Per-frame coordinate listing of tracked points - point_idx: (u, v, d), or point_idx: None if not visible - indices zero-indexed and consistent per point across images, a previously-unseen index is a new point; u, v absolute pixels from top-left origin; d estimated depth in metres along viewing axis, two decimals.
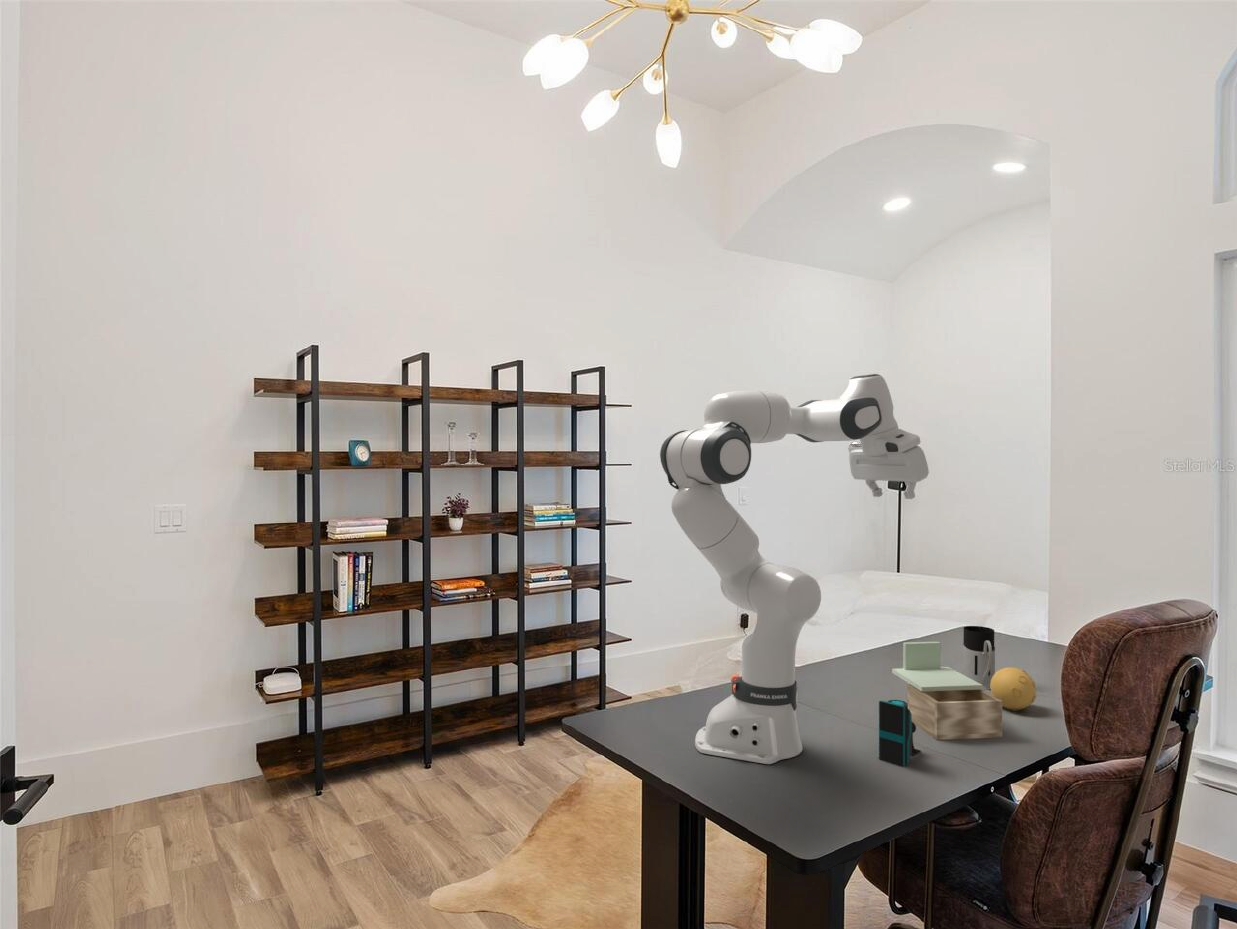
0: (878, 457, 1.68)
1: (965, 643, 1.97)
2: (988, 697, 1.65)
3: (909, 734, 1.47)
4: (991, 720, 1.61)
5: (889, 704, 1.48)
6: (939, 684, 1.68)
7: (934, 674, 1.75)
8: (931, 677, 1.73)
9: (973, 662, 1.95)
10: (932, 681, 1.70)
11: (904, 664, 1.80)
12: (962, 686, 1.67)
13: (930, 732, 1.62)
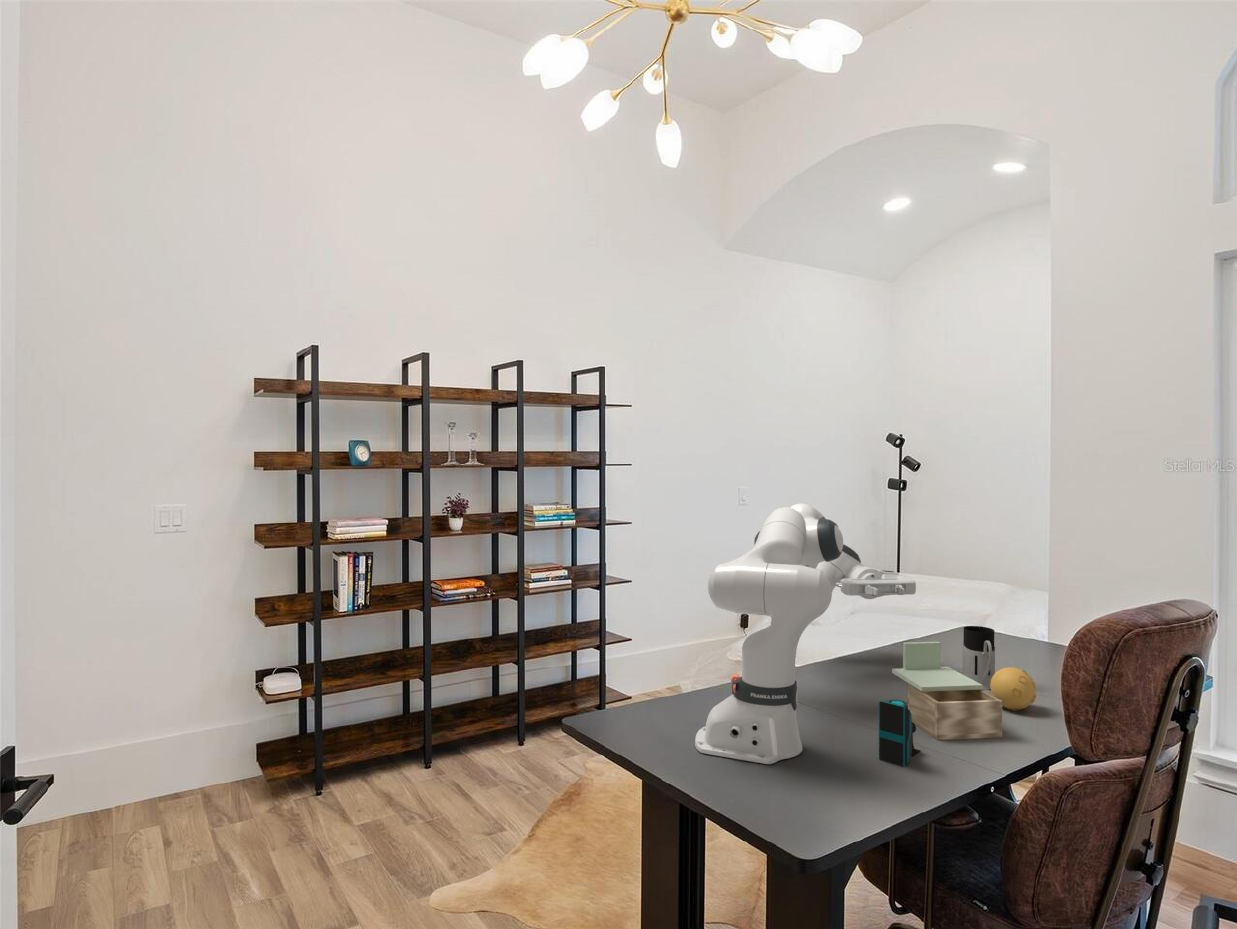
0: (876, 574, 2.08)
1: (965, 643, 1.97)
2: (988, 697, 1.65)
3: (909, 734, 1.47)
4: (991, 720, 1.61)
5: (889, 704, 1.48)
6: (939, 684, 1.68)
7: (934, 674, 1.75)
8: (931, 677, 1.73)
9: (973, 662, 1.95)
10: (932, 681, 1.70)
11: (904, 664, 1.80)
12: (962, 686, 1.67)
13: (930, 732, 1.62)
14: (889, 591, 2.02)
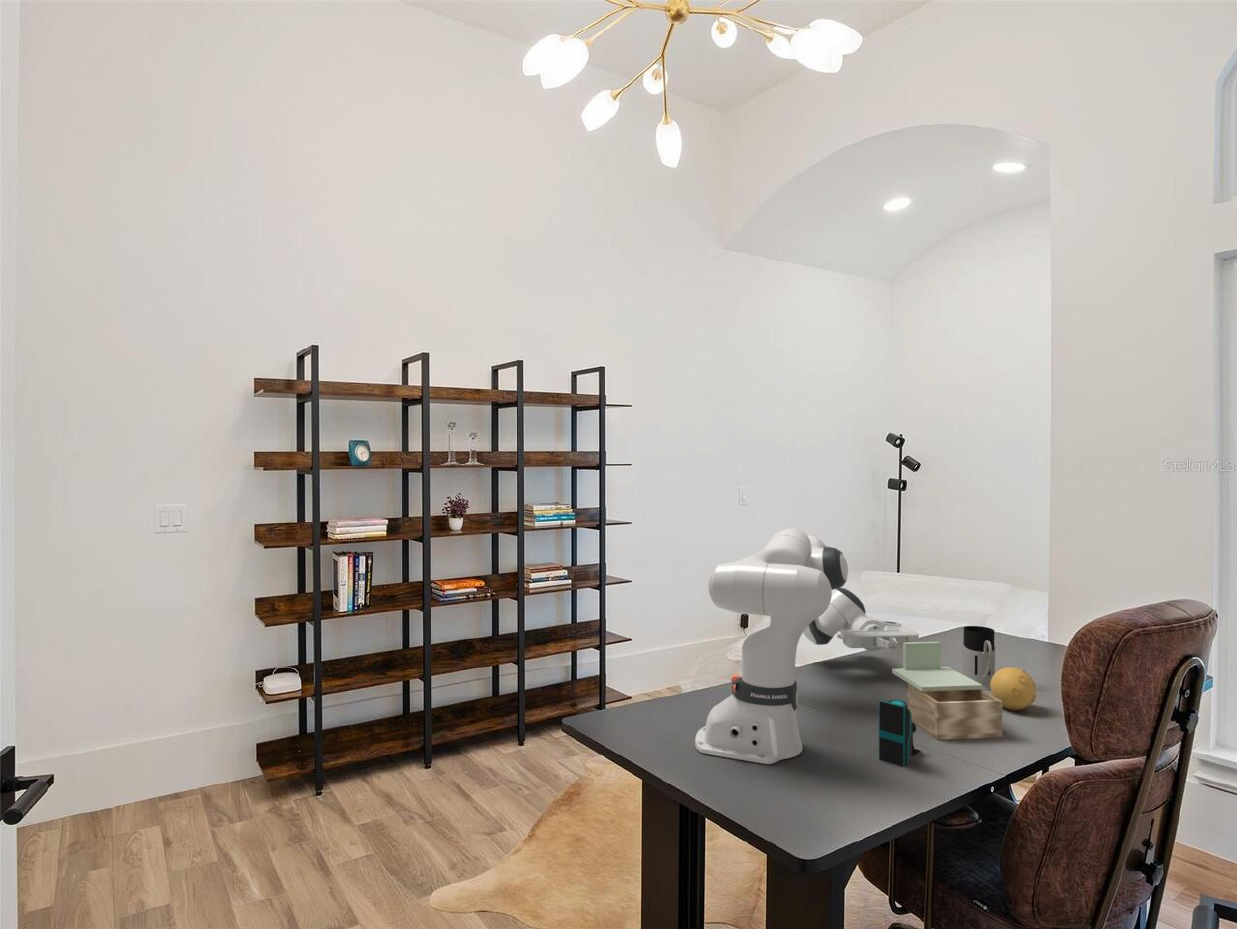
0: (878, 625, 2.05)
1: (965, 643, 1.97)
2: (988, 697, 1.65)
3: (909, 734, 1.47)
4: (991, 720, 1.61)
5: (889, 704, 1.48)
6: (939, 684, 1.68)
7: (934, 674, 1.75)
8: (931, 677, 1.73)
9: (973, 662, 1.95)
10: (932, 681, 1.70)
11: (904, 664, 1.80)
12: (962, 686, 1.67)
13: (930, 732, 1.62)
14: None
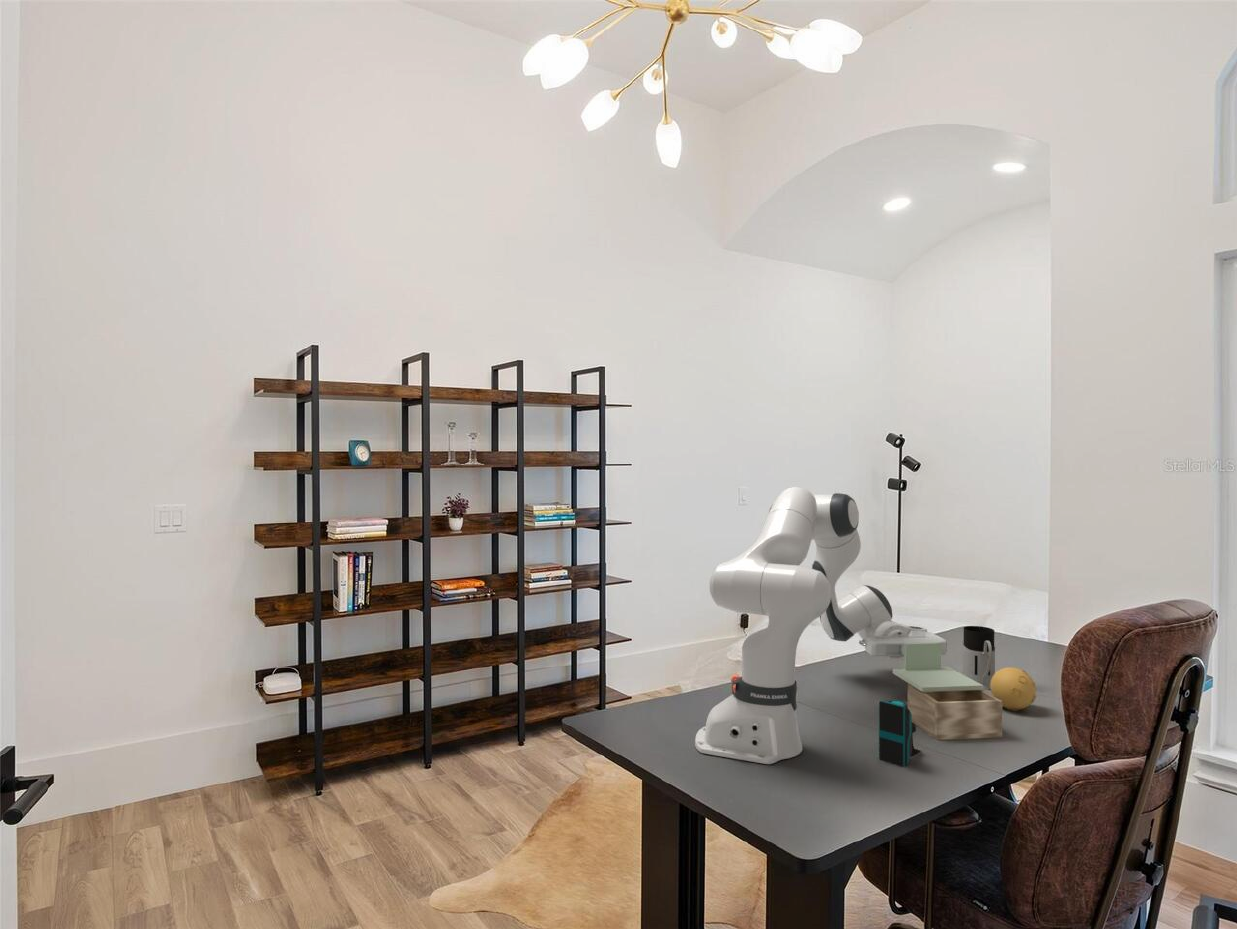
0: (903, 631, 1.92)
1: (965, 643, 1.97)
2: (988, 697, 1.65)
3: (909, 734, 1.47)
4: (991, 720, 1.61)
5: (889, 704, 1.48)
6: (940, 685, 1.68)
7: (934, 675, 1.75)
8: (931, 678, 1.73)
9: (973, 662, 1.95)
10: (933, 681, 1.70)
11: (905, 664, 1.80)
12: (962, 686, 1.67)
13: (930, 732, 1.62)
14: None
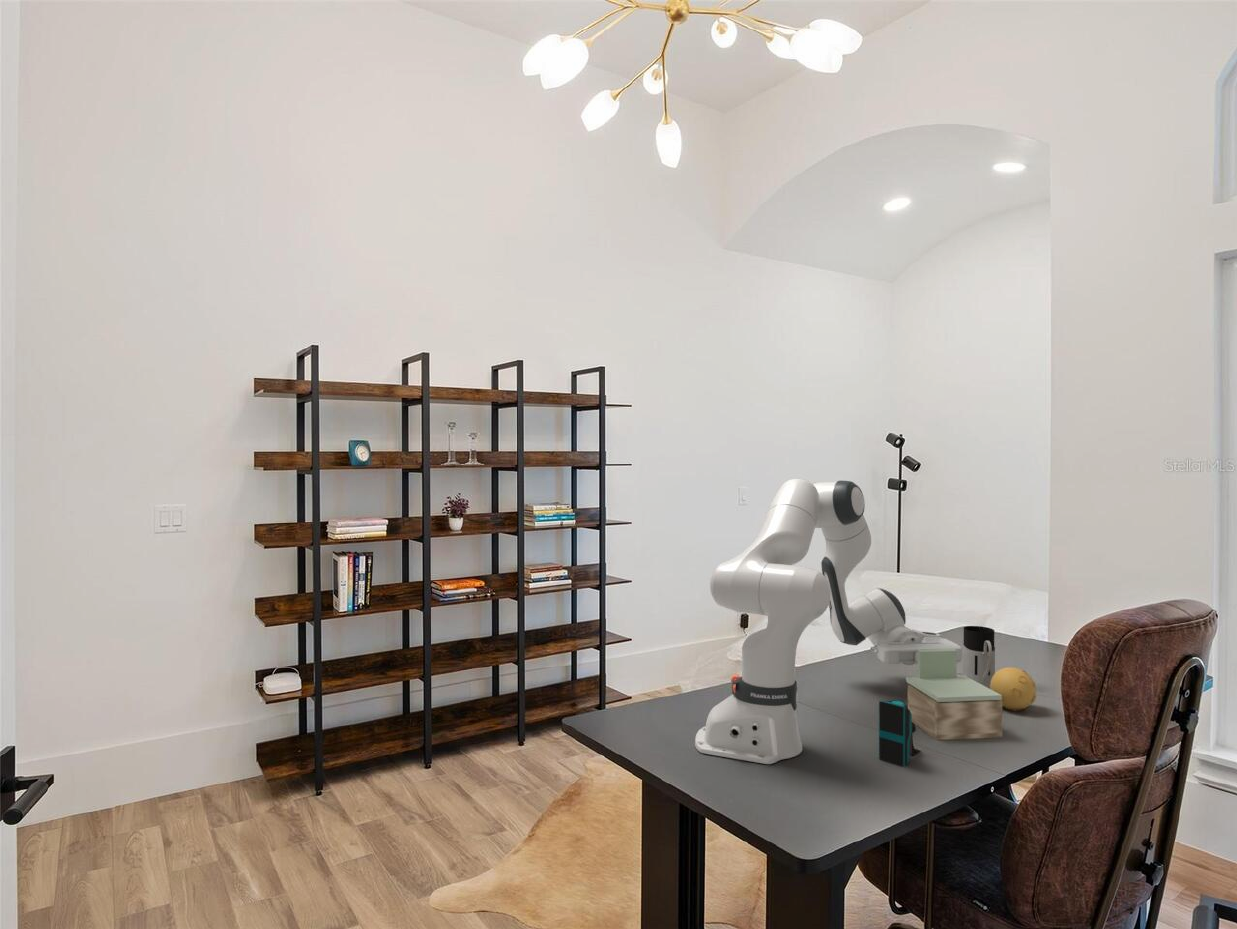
0: (916, 637, 1.85)
1: (965, 643, 1.97)
2: None
3: (909, 734, 1.47)
4: (991, 720, 1.61)
5: (889, 704, 1.48)
6: (956, 694, 1.61)
7: (950, 684, 1.68)
8: (947, 687, 1.66)
9: (973, 662, 1.95)
10: (949, 691, 1.63)
11: (919, 673, 1.73)
12: (980, 696, 1.60)
13: (930, 732, 1.62)
14: None
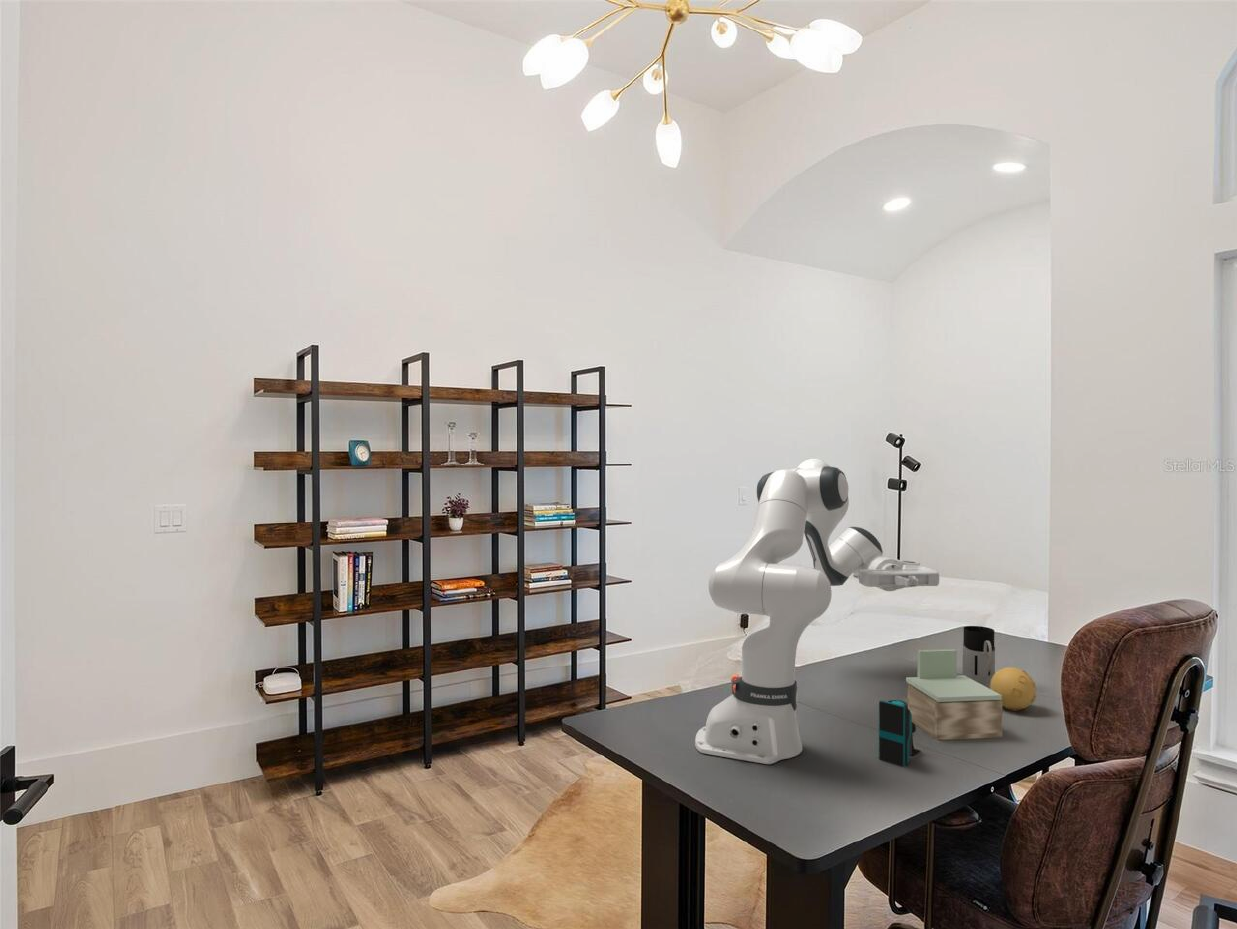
0: (896, 564, 1.96)
1: (965, 643, 1.97)
2: None
3: (909, 734, 1.47)
4: (991, 720, 1.61)
5: (889, 704, 1.48)
6: (956, 694, 1.61)
7: (950, 684, 1.68)
8: (947, 687, 1.66)
9: (973, 662, 1.95)
10: (949, 691, 1.63)
11: (919, 673, 1.73)
12: (980, 696, 1.60)
13: (930, 732, 1.62)
14: None
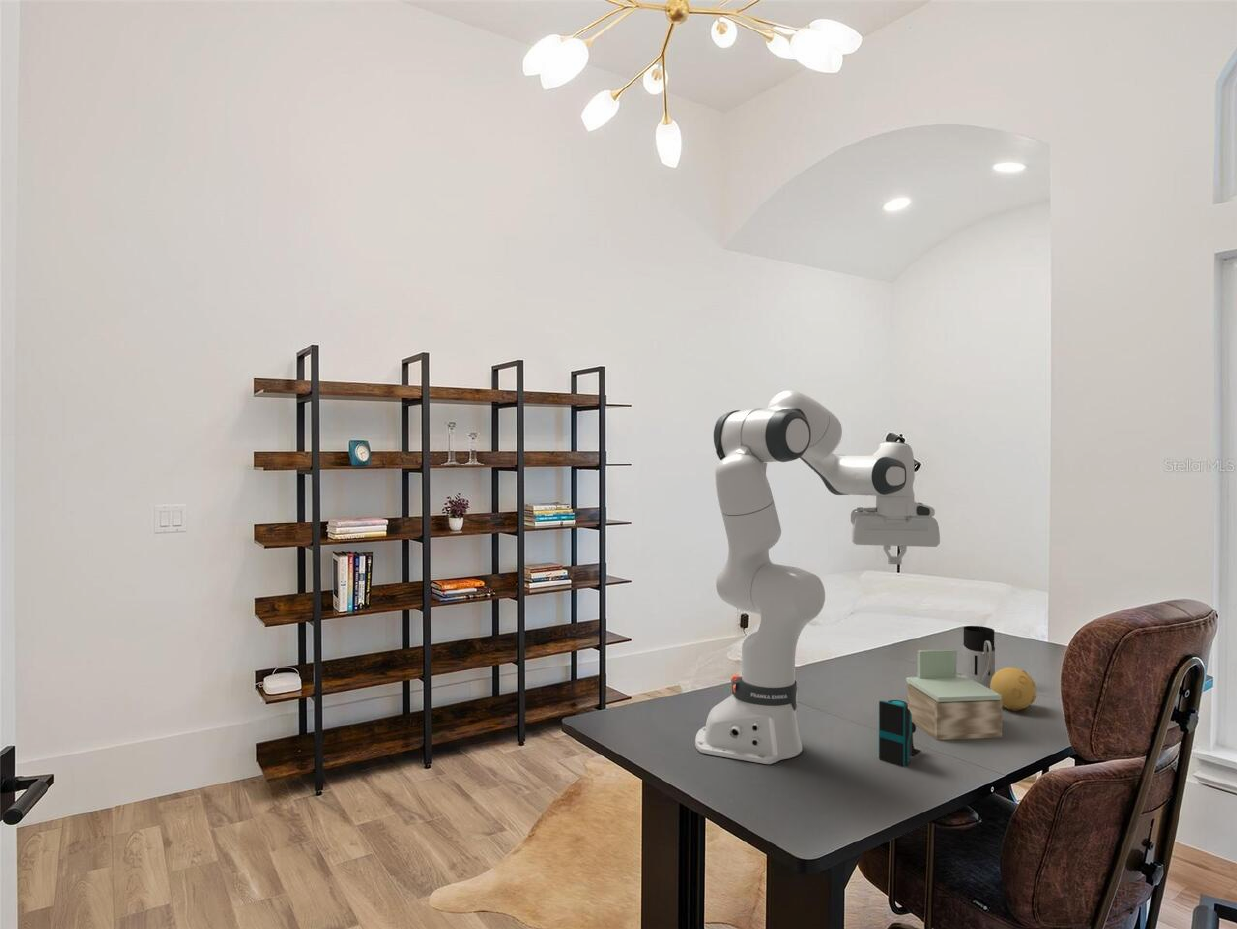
0: (901, 521, 1.77)
1: (965, 643, 1.97)
2: None
3: (909, 734, 1.47)
4: (991, 720, 1.61)
5: (889, 704, 1.48)
6: (956, 694, 1.61)
7: (950, 684, 1.68)
8: (947, 687, 1.66)
9: (973, 662, 1.95)
10: (949, 691, 1.63)
11: (919, 673, 1.73)
12: (980, 696, 1.60)
13: (930, 732, 1.62)
14: None
